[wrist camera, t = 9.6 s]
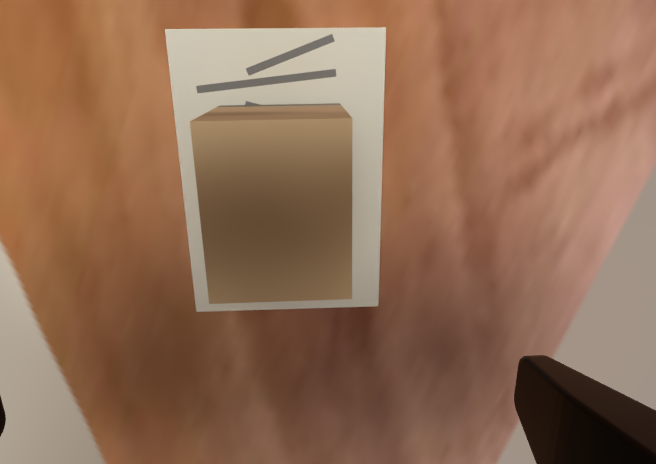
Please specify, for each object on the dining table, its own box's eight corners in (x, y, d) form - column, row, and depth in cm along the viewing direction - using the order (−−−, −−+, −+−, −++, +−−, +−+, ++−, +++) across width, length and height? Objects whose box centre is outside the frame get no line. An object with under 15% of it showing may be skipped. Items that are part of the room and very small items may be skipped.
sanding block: (340, 242, 18) (352, 298, 14) (231, 246, 18) (208, 304, 14) (339, 103, 16) (352, 118, 12) (219, 105, 16) (189, 121, 12)
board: (374, 294, 20) (378, 306, 19) (201, 299, 20) (196, 311, 19) (381, 29, 17) (386, 27, 16) (172, 31, 16) (164, 29, 15)
